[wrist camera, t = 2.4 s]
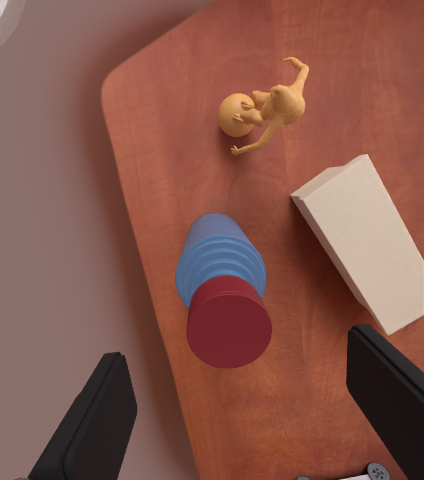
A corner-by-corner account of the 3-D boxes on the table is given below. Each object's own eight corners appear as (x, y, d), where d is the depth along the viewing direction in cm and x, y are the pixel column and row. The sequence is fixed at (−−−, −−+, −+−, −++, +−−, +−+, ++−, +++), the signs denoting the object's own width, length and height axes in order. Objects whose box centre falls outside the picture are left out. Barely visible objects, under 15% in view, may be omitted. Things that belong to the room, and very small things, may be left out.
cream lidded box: (281, 195, 28) (302, 199, 22) (331, 159, 27) (367, 153, 21) (354, 307, 32) (388, 336, 26) (399, 279, 31) (445, 302, 25)
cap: (178, 324, 14) (173, 351, 12) (208, 263, 13) (208, 280, 11) (241, 348, 14) (247, 379, 12) (274, 292, 14) (287, 313, 11)
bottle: (178, 253, 30) (140, 357, 12) (201, 203, 28) (193, 240, 11) (227, 274, 31) (257, 399, 13) (252, 227, 29) (321, 297, 12)
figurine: (239, 73, 25) (269, -20, 13) (285, 106, 26) (350, 45, 14) (200, 145, 27) (197, 117, 15) (245, 173, 27) (274, 168, 16)
